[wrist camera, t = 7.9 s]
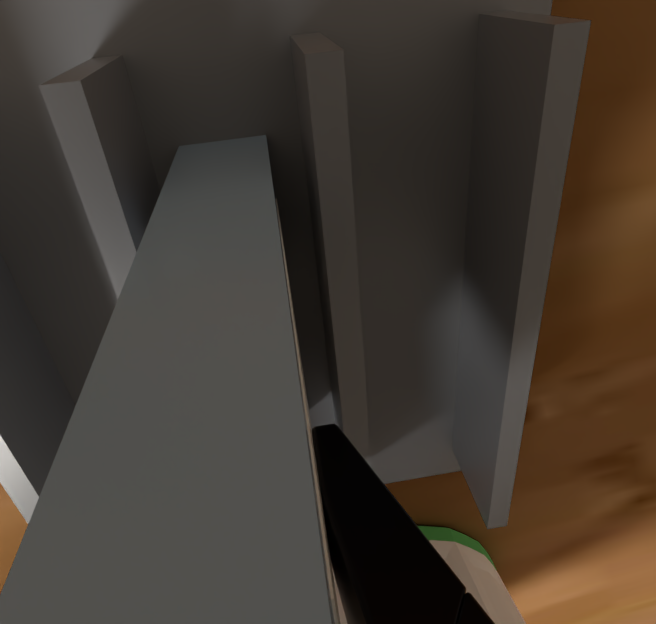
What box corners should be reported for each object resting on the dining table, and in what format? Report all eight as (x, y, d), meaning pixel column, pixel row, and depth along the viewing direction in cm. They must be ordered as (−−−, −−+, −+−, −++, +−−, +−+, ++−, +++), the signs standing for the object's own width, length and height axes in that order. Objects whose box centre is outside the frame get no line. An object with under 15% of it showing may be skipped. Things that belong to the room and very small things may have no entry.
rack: (480, 440, 16) (532, 543, 13) (97, 505, 16) (62, 629, 13) (532, -62, 9) (670, -82, 6) (-166, 13, 9) (-389, 31, 6)
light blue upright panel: (309, 410, 13) (390, 959, 6) (246, 420, 13) (246, 991, 6) (267, 134, 10) (345, 708, 2) (177, 146, 9) (-85, 793, 2)
